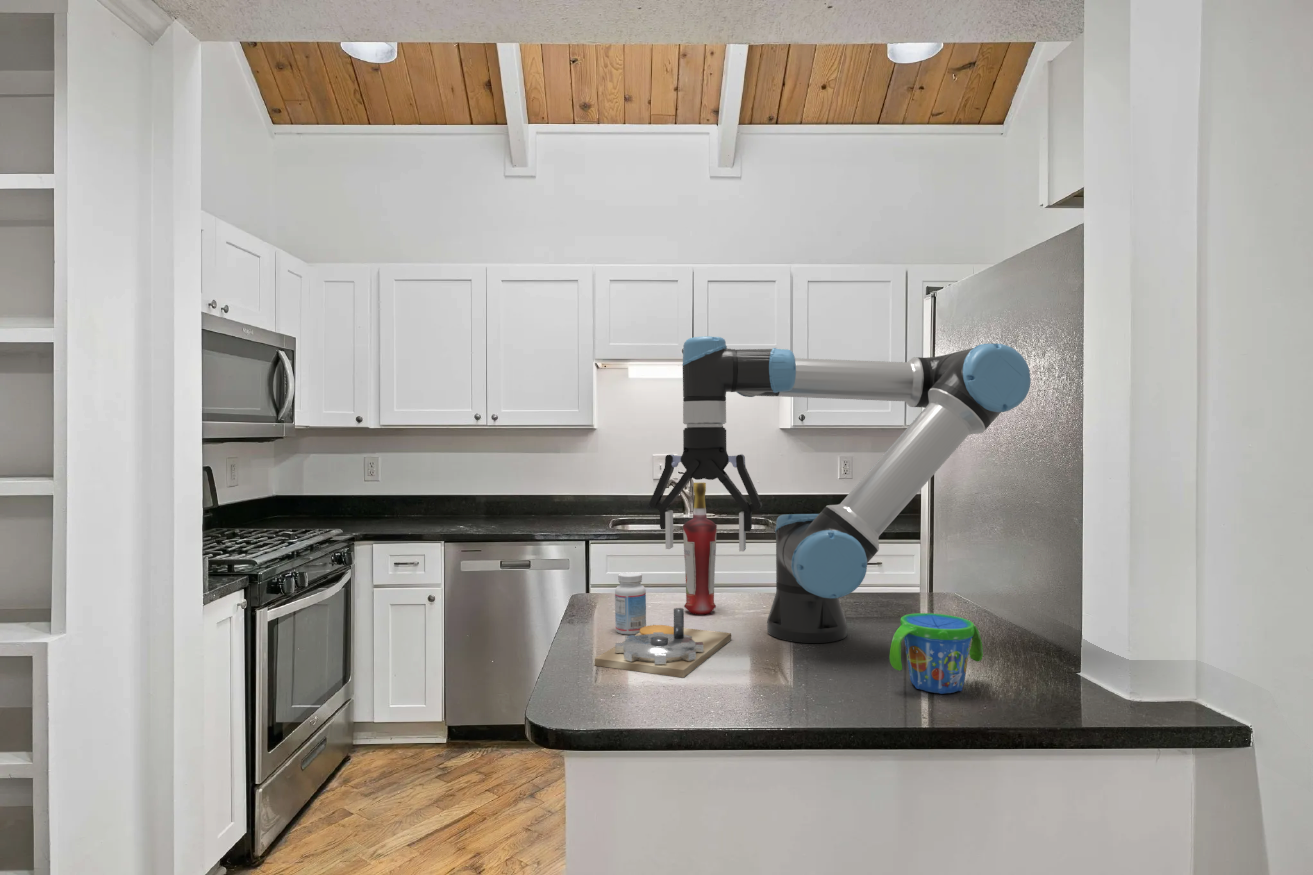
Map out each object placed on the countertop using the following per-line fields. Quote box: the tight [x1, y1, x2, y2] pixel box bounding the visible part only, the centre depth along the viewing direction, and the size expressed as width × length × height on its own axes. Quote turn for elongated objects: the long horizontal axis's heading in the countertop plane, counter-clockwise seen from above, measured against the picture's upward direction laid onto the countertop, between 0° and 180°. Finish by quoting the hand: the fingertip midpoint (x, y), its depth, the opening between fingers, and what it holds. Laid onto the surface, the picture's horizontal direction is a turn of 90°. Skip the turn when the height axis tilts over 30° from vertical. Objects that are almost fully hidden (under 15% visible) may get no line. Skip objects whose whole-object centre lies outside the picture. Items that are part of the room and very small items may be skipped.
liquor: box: [682, 481, 718, 616], centre depth 163 cm, size 7×7×28 cm
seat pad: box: [640, 624, 674, 635], centre depth 142 cm, size 7×7×1 cm
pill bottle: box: [614, 571, 647, 636], centre depth 147 cm, size 6×6×11 cm
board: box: [594, 627, 732, 678], centre depth 133 cm, size 16×24×1 cm, turn 156°
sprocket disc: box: [614, 607, 703, 664], centre depth 129 cm, size 15×15×6 cm
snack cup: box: [888, 612, 984, 695], centre depth 114 cm, size 16×10×10 cm
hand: (705, 549), depth 132 cm, fingers open, 12 cm apart
